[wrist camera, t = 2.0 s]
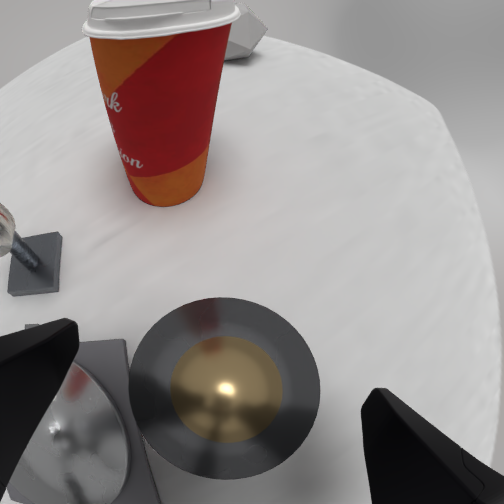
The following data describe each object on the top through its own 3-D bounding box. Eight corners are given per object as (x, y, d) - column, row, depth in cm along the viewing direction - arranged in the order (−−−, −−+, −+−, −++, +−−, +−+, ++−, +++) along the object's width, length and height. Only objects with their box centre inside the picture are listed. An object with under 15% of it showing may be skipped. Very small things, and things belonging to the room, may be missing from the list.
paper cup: (131, 142, 22) (115, -15, 10) (220, 146, 23) (245, -18, 11) (106, 219, 18) (46, 25, 6) (214, 225, 19) (243, 9, 7)
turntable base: (164, 515, 10) (163, 519, 10) (15, 498, 8) (10, 499, 7) (125, 340, 15) (122, 338, 15) (-12, 346, 12) (-17, 344, 12)
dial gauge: (60, 291, 16) (-20, 208, 7) (11, 296, 14) (-73, 226, 6) (64, 236, 17) (7, 140, 9) (17, 245, 16) (-48, 162, 8)
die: (238, 45, 35) (203, 0, 28) (286, 37, 31) (252, -18, 23) (211, 78, 34) (168, 30, 27) (260, 72, 29) (217, 10, 22)
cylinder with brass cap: (272, 426, 14) (368, 462, 5) (173, 444, 13) (131, 515, 4) (251, 335, 17) (312, 255, 7) (154, 349, 15) (90, 284, 6)
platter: (151, 514, 10) (148, 522, 9) (11, 495, 7) (2, 499, 6) (111, 322, 15) (105, 317, 13) (-15, 330, 12) (-25, 325, 11)
